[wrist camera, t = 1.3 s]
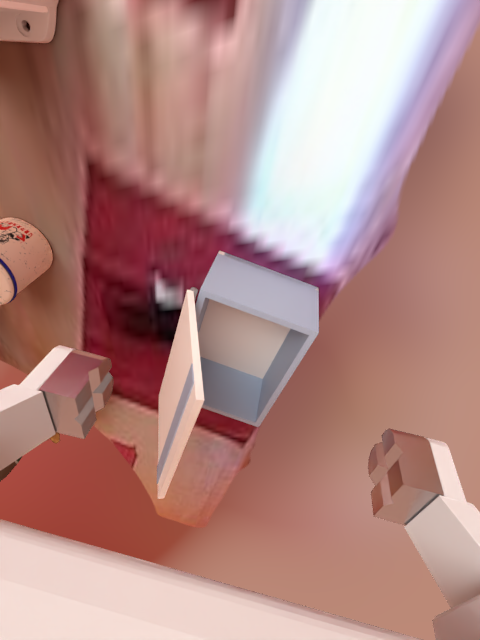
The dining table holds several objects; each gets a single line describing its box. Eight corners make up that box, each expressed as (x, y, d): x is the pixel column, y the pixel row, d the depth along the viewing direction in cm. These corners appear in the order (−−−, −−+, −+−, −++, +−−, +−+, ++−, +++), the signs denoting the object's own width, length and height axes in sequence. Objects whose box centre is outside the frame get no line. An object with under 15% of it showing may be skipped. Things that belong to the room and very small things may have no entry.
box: (266, 379, 58) (258, 427, 51) (187, 351, 58) (168, 396, 50) (318, 287, 46) (318, 332, 39) (219, 250, 45) (200, 289, 38)
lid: (168, 498, 40) (156, 498, 40) (167, 392, 50) (158, 392, 50) (210, 400, 28) (194, 399, 27) (197, 287, 38) (185, 286, 38)
